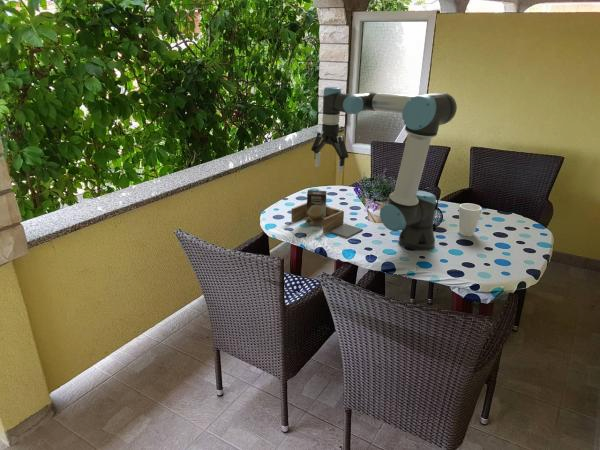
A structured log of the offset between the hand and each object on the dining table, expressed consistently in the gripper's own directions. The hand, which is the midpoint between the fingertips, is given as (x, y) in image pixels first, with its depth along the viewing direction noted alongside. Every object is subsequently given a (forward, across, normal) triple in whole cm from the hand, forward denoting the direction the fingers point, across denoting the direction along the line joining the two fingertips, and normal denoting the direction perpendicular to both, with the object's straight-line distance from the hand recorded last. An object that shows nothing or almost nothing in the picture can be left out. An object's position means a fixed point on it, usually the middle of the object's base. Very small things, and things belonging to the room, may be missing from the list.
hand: (328, 169), depth 210 cm
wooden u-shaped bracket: (+26, +1, +6) cm, 26 cm away
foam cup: (+25, -55, -34) cm, 70 cm away
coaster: (+26, -15, +3) cm, 30 cm away
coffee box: (+26, +1, +7) cm, 27 cm away
